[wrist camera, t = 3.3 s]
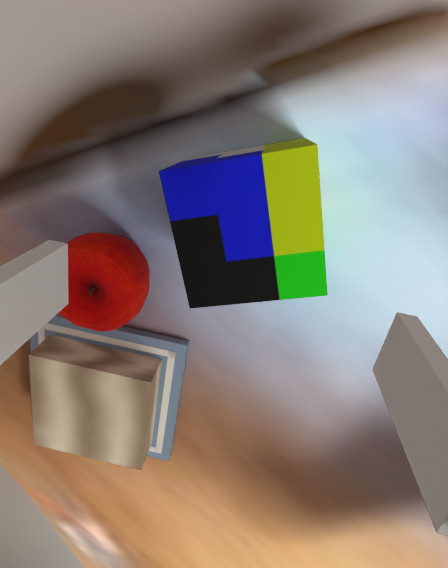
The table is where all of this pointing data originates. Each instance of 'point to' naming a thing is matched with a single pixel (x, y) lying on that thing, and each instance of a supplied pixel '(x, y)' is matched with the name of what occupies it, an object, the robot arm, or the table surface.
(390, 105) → the table surface
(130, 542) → the table surface
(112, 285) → the apple
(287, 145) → the puzzle toy
